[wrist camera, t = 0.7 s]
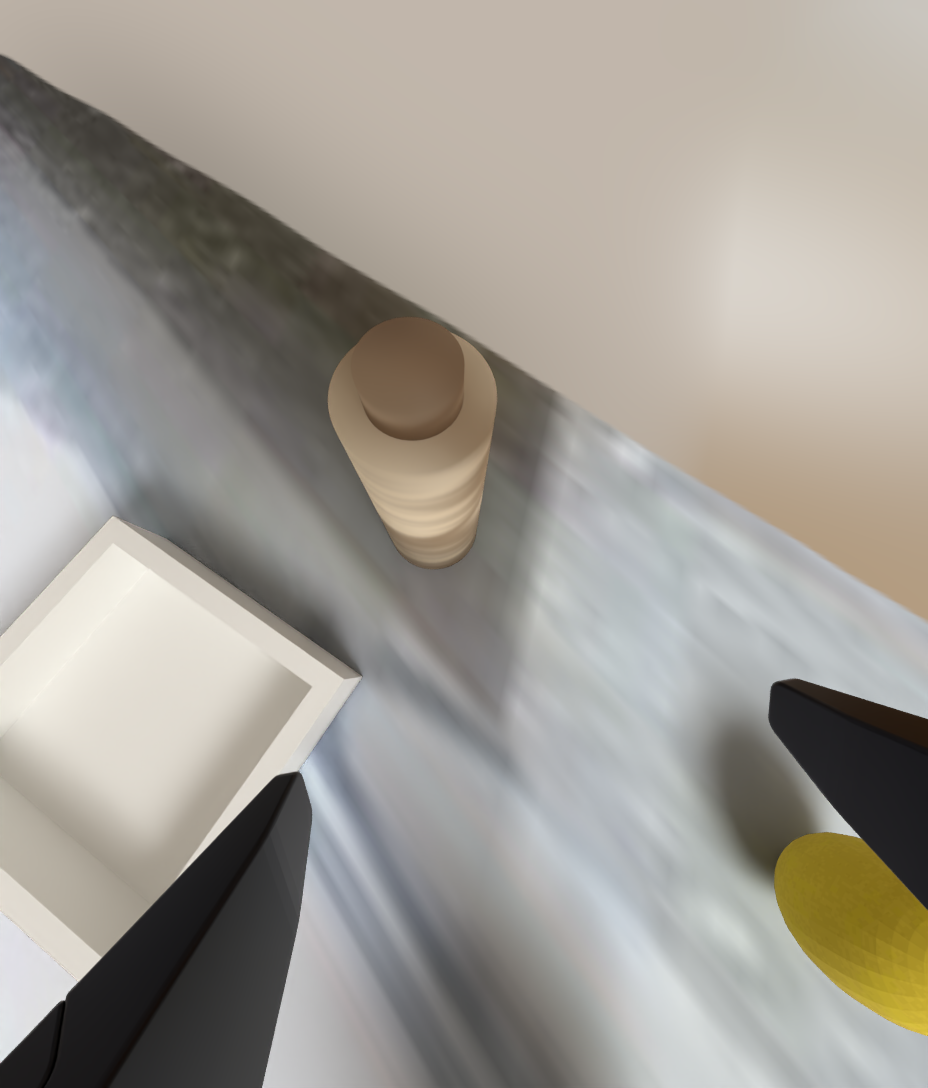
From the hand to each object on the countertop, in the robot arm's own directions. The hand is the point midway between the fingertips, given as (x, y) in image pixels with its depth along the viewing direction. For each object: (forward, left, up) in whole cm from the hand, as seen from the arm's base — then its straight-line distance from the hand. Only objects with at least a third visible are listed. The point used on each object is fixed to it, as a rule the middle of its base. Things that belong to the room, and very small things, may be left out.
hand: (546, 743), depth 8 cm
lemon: (+1, -17, -16) cm, 23 cm away
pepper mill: (+6, +7, -15) cm, 18 cm away
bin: (-10, +13, -15) cm, 22 cm away
